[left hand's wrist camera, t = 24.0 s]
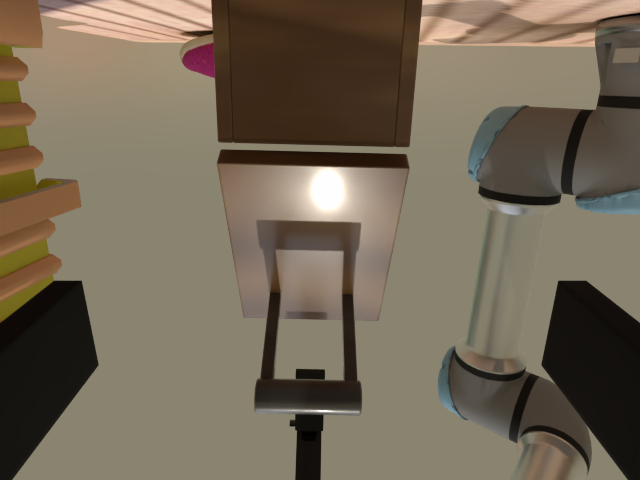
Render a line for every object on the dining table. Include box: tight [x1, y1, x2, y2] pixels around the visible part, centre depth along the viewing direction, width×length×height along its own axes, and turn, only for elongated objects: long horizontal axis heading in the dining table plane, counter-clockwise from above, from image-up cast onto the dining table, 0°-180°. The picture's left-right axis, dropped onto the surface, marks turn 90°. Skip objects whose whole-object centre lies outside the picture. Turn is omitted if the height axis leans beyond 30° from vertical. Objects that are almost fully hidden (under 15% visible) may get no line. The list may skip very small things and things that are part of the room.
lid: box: [217, 150, 409, 415], centre depth 24 cm, size 13×9×9 cm
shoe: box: [180, 34, 215, 78], centre depth 85 cm, size 14×32×10 cm, turn 112°
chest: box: [211, 0, 422, 147], centre depth 26 cm, size 12×9×11 cm
